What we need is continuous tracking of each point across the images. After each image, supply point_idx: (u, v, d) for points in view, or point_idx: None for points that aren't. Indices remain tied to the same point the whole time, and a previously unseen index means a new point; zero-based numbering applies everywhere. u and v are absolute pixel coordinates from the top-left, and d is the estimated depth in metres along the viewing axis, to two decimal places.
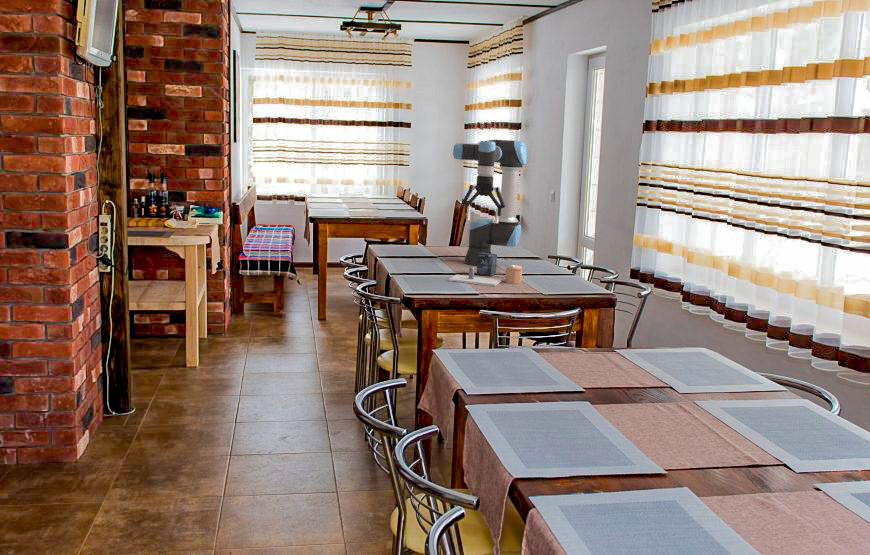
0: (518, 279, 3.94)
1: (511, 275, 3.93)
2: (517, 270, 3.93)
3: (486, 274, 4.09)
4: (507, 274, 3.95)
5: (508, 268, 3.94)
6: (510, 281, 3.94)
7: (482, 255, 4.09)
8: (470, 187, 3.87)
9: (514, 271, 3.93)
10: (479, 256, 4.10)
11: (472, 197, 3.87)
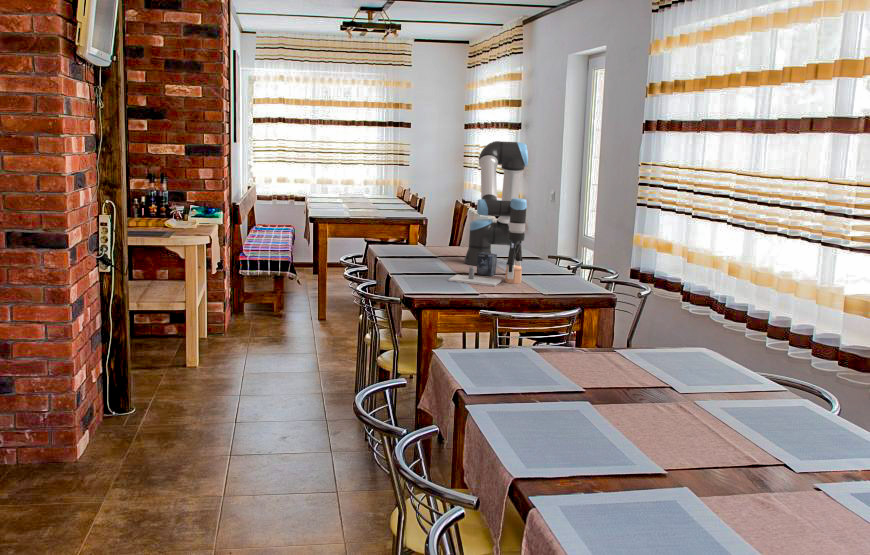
0: (518, 279, 3.94)
1: None
2: (517, 270, 3.93)
3: (486, 274, 4.09)
4: None
5: None
6: (510, 281, 3.94)
7: (482, 255, 4.09)
8: None
9: (514, 271, 3.93)
10: (479, 256, 4.10)
11: None
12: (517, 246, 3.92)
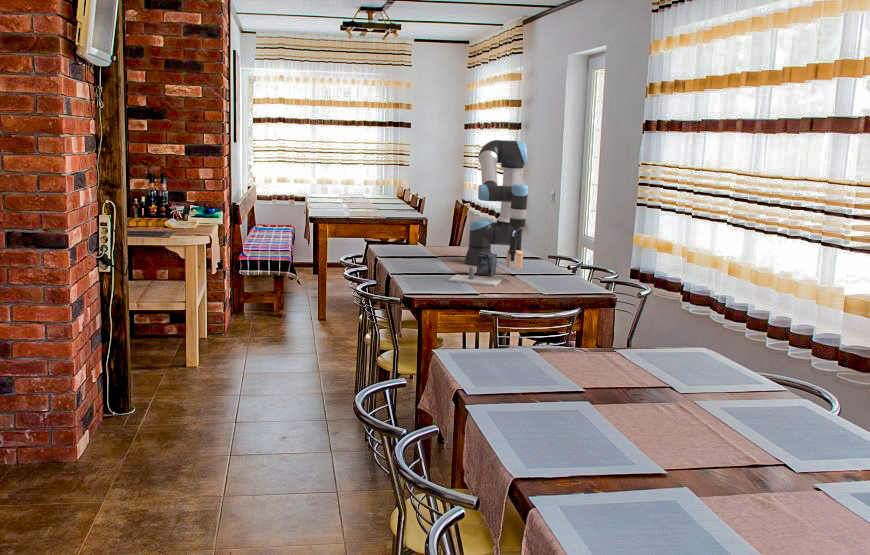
0: (519, 264, 3.93)
1: None
2: (518, 255, 3.92)
3: (486, 274, 4.09)
4: (508, 259, 3.94)
5: None
6: None
7: (482, 255, 4.09)
8: None
9: None
10: (479, 256, 4.10)
11: None
12: (518, 233, 3.91)
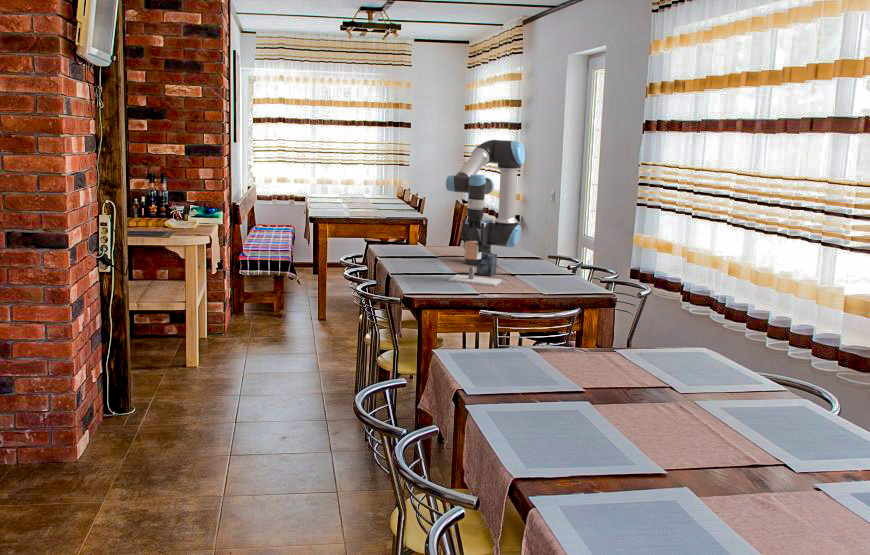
0: None
1: None
2: None
3: (486, 274, 4.09)
4: (473, 251, 3.88)
5: (474, 245, 3.88)
6: None
7: (482, 255, 4.09)
8: (463, 221, 3.93)
9: None
10: None
11: (466, 232, 3.92)
12: None
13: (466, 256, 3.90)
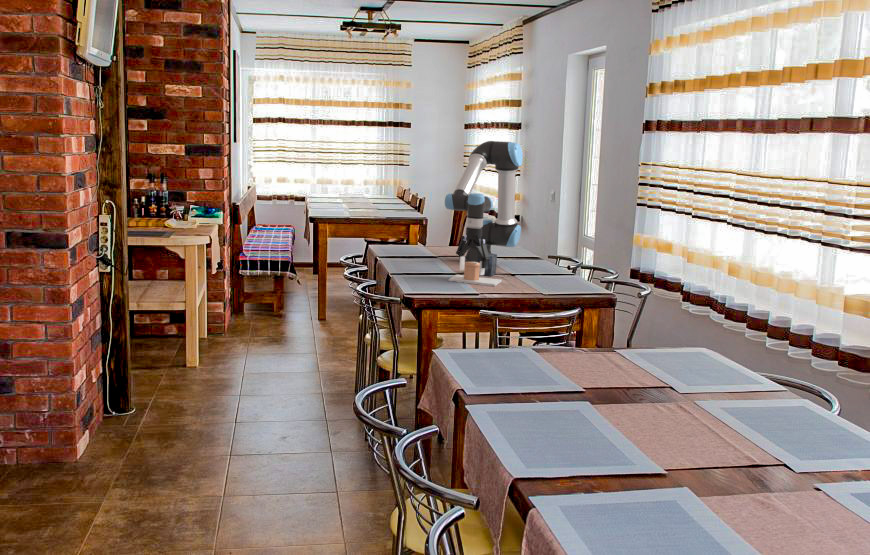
0: None
1: (476, 272, 3.91)
2: (479, 266, 3.93)
3: (486, 274, 4.09)
4: (472, 271, 3.90)
5: (473, 265, 3.89)
6: (476, 278, 3.91)
7: None
8: (462, 238, 3.94)
9: (479, 267, 3.91)
10: (479, 256, 4.10)
11: (463, 248, 3.94)
12: None
13: (465, 277, 3.92)
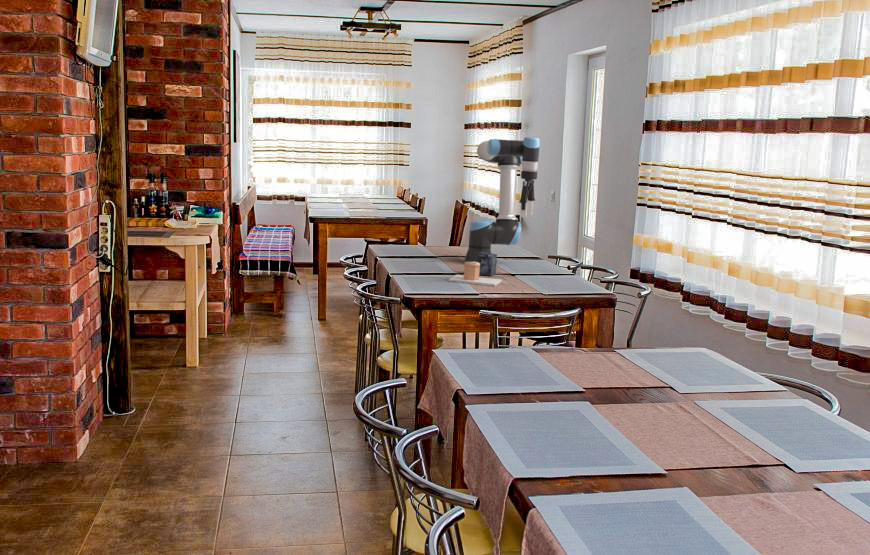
0: None
1: (476, 272, 3.91)
2: (479, 266, 3.93)
3: (486, 274, 4.09)
4: (472, 271, 3.90)
5: (473, 265, 3.89)
6: (476, 278, 3.91)
7: (482, 255, 4.09)
8: None
9: (479, 267, 3.91)
10: (479, 256, 4.10)
11: None
12: (530, 184, 3.94)
13: (465, 277, 3.92)
